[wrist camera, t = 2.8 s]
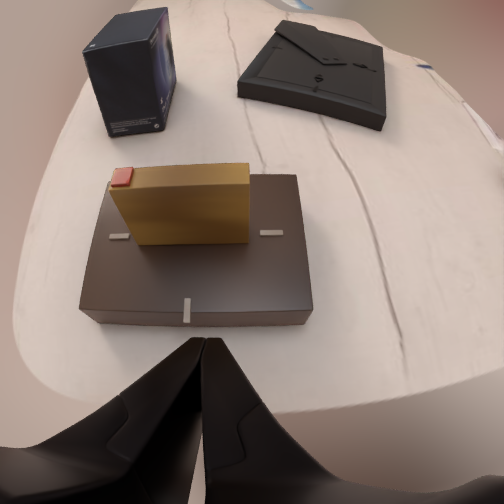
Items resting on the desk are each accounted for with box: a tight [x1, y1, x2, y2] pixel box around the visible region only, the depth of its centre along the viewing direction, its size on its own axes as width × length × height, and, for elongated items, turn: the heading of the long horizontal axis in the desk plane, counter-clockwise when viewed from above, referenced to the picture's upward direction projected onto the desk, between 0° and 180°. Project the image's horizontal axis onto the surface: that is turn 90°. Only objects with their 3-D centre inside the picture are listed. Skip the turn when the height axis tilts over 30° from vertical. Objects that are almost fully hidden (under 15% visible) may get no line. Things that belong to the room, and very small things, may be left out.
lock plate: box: [79, 174, 313, 327], centre depth 21 cm, size 14×11×3 cm
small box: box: [82, 7, 176, 137], centre depth 26 cm, size 11×6×10 cm, turn 4°
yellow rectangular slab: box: [108, 163, 250, 245], centre depth 17 cm, size 7×1×6 cm, turn 92°
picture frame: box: [237, 20, 386, 131], centre depth 34 cm, size 16×3×21 cm
